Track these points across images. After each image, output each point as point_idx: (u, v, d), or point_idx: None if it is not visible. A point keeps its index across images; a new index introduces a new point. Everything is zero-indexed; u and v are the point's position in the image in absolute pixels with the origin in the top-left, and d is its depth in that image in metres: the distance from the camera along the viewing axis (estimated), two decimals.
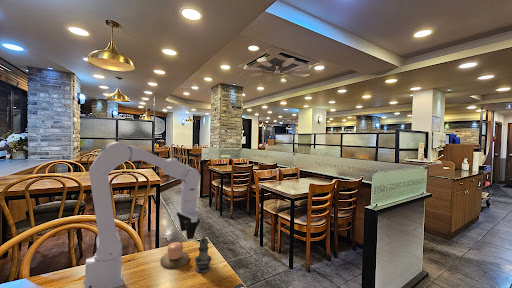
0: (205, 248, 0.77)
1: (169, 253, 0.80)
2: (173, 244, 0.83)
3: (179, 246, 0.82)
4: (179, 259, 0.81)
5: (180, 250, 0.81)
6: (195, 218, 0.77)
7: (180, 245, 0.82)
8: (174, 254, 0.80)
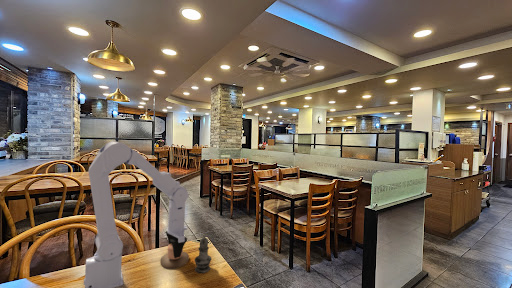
0: (205, 248, 0.77)
1: (169, 253, 0.80)
2: None
3: None
4: (179, 259, 0.81)
5: None
6: (182, 238, 0.76)
7: None
8: None
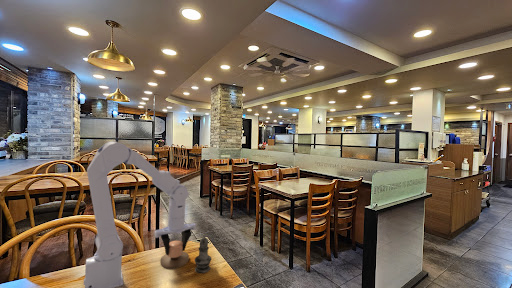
0: (205, 248, 0.77)
1: None
2: (178, 242, 0.83)
3: (172, 246, 0.80)
4: (179, 259, 0.81)
5: (169, 250, 0.80)
6: (155, 233, 0.78)
7: (174, 246, 0.80)
8: None
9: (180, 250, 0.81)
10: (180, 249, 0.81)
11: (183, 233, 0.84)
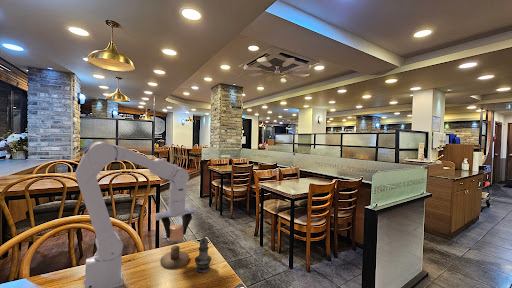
0: (205, 248, 0.77)
1: None
2: (178, 226, 0.83)
3: (172, 229, 0.80)
4: (179, 259, 0.81)
5: (170, 233, 0.80)
6: (156, 216, 0.77)
7: (174, 229, 0.80)
8: None
9: (181, 234, 0.81)
10: (181, 232, 0.81)
11: (184, 217, 0.83)
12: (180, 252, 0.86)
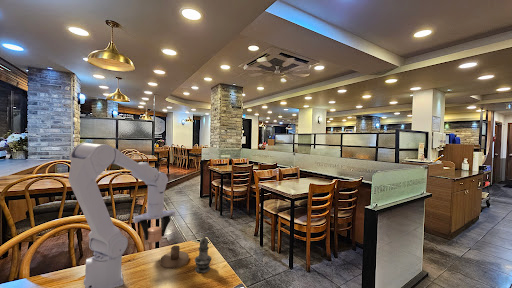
0: (205, 248, 0.77)
1: None
2: (157, 228, 0.86)
3: (151, 231, 0.83)
4: (179, 259, 0.81)
5: (148, 235, 0.82)
6: (134, 219, 0.80)
7: (152, 231, 0.83)
8: None
9: (159, 235, 0.84)
10: (159, 234, 0.84)
11: (162, 219, 0.86)
12: (180, 252, 0.86)
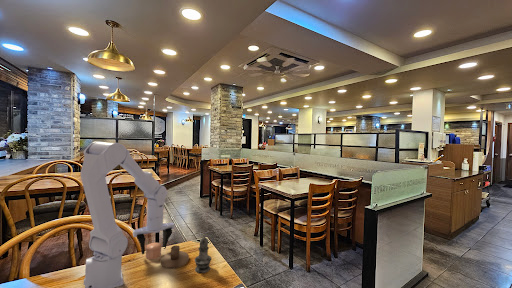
0: (205, 248, 0.77)
1: None
2: (156, 244, 0.86)
3: (150, 248, 0.83)
4: (179, 259, 0.81)
5: (147, 251, 0.83)
6: (133, 233, 0.80)
7: (152, 248, 0.83)
8: (146, 251, 0.84)
9: (158, 252, 0.84)
10: (158, 251, 0.84)
11: (164, 232, 0.87)
12: (180, 252, 0.86)
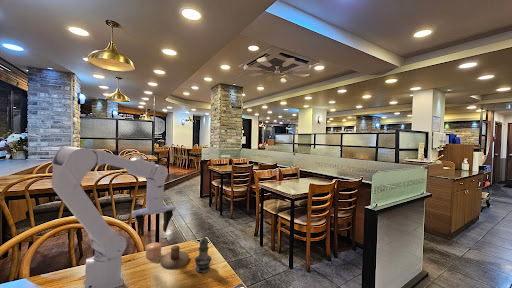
0: (205, 248, 0.77)
1: None
2: (156, 244, 0.86)
3: (150, 248, 0.83)
4: (179, 259, 0.81)
5: (147, 251, 0.83)
6: (132, 213, 0.77)
7: (152, 248, 0.83)
8: (146, 251, 0.84)
9: (158, 252, 0.84)
10: (158, 251, 0.84)
11: (164, 214, 0.83)
12: (180, 252, 0.86)
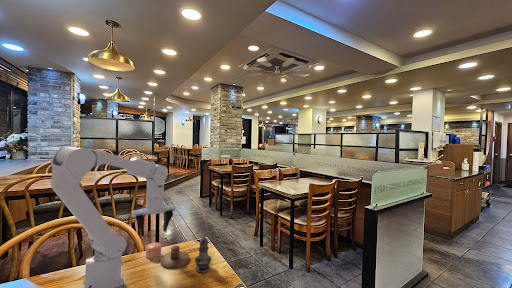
0: (205, 248, 0.77)
1: None
2: (156, 244, 0.86)
3: (150, 248, 0.83)
4: (179, 259, 0.81)
5: (147, 251, 0.83)
6: (132, 213, 0.77)
7: (152, 248, 0.83)
8: (146, 251, 0.84)
9: (158, 252, 0.84)
10: (158, 251, 0.84)
11: (165, 214, 0.83)
12: (180, 252, 0.86)
